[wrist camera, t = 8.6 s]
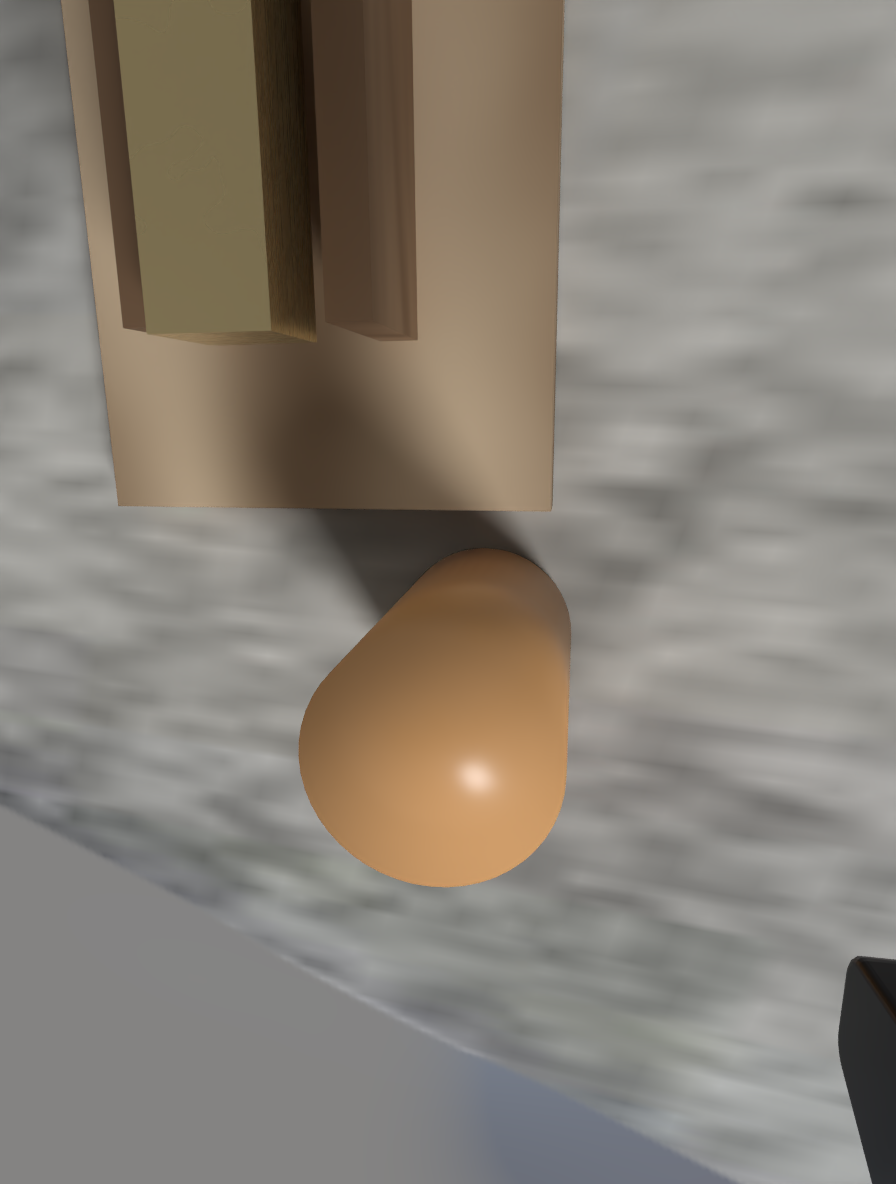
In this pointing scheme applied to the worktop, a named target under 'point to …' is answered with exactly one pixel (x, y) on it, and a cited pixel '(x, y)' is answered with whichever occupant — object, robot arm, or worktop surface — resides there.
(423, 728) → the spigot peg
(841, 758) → the worktop surface
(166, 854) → the worktop surface
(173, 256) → the bar
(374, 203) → the dock board
